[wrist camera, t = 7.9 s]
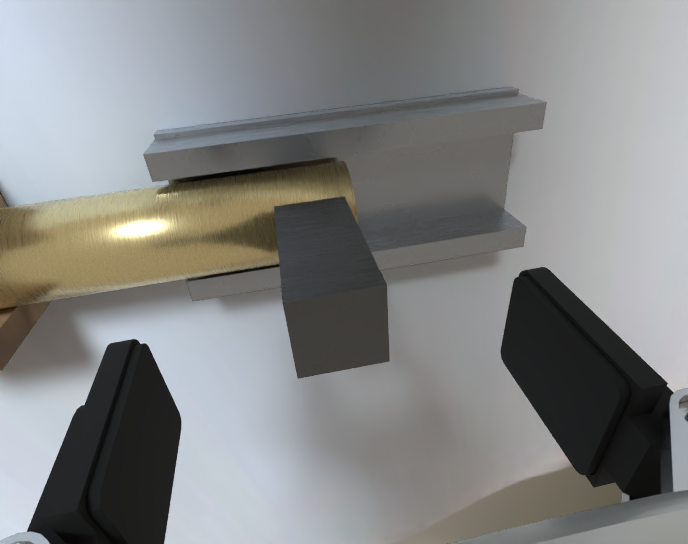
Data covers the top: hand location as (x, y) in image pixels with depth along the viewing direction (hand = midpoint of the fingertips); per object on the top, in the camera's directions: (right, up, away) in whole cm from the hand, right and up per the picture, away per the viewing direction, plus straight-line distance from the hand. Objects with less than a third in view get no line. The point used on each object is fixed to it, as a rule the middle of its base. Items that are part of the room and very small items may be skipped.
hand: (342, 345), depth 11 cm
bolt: (-10, +5, +11) cm, 16 cm away
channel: (0, +7, +13) cm, 14 cm away
